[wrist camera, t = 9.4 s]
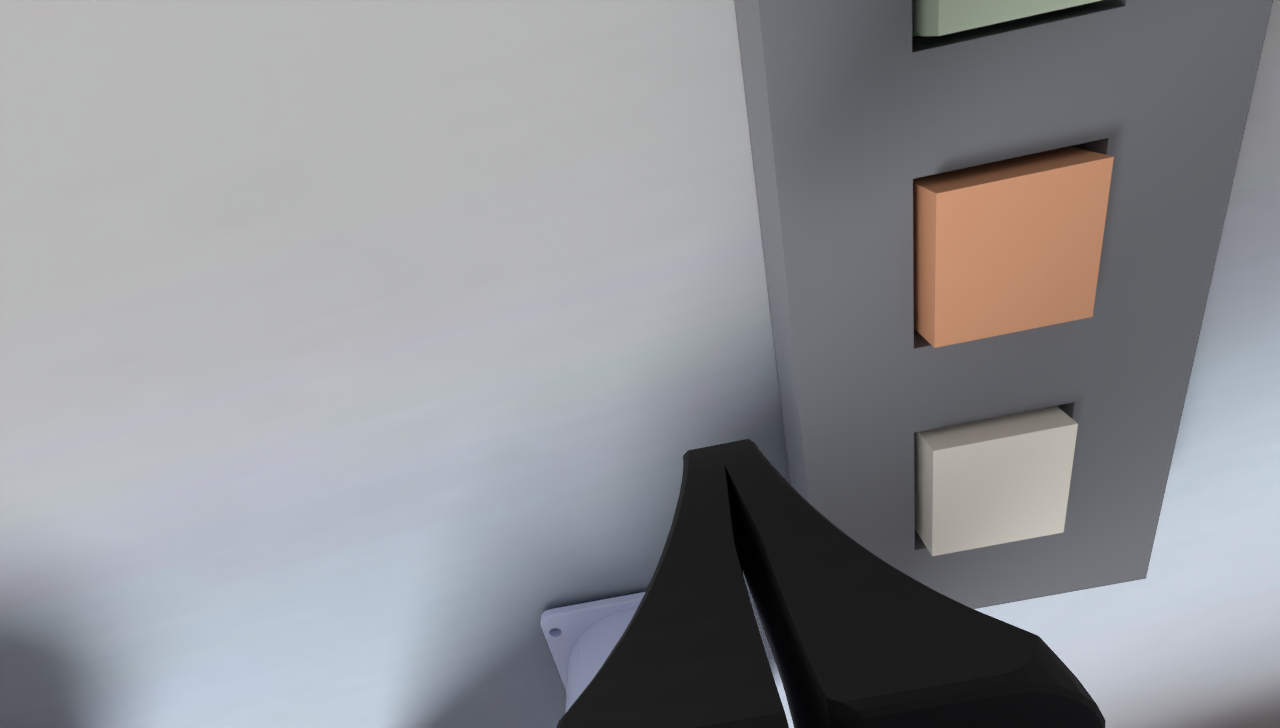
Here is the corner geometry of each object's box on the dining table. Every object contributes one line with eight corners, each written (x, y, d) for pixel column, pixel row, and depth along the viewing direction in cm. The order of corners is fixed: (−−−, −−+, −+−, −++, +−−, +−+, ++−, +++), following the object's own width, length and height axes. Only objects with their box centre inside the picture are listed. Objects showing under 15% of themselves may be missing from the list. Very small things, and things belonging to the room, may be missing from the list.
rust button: (1025, 278, 21) (1092, 316, 18) (890, 305, 21) (934, 347, 18) (1037, 138, 19) (1113, 156, 16) (887, 170, 19) (936, 193, 16)
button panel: (1091, 523, 26) (1145, 578, 24) (800, 576, 27) (822, 635, 24) (1248, -471, 14) (1403, -593, 11) (695, -333, 14) (716, -416, 12)
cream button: (1010, 474, 25) (1063, 532, 22) (894, 496, 25) (932, 556, 22) (1018, 374, 23) (1078, 423, 20) (892, 399, 23) (933, 451, 20)
